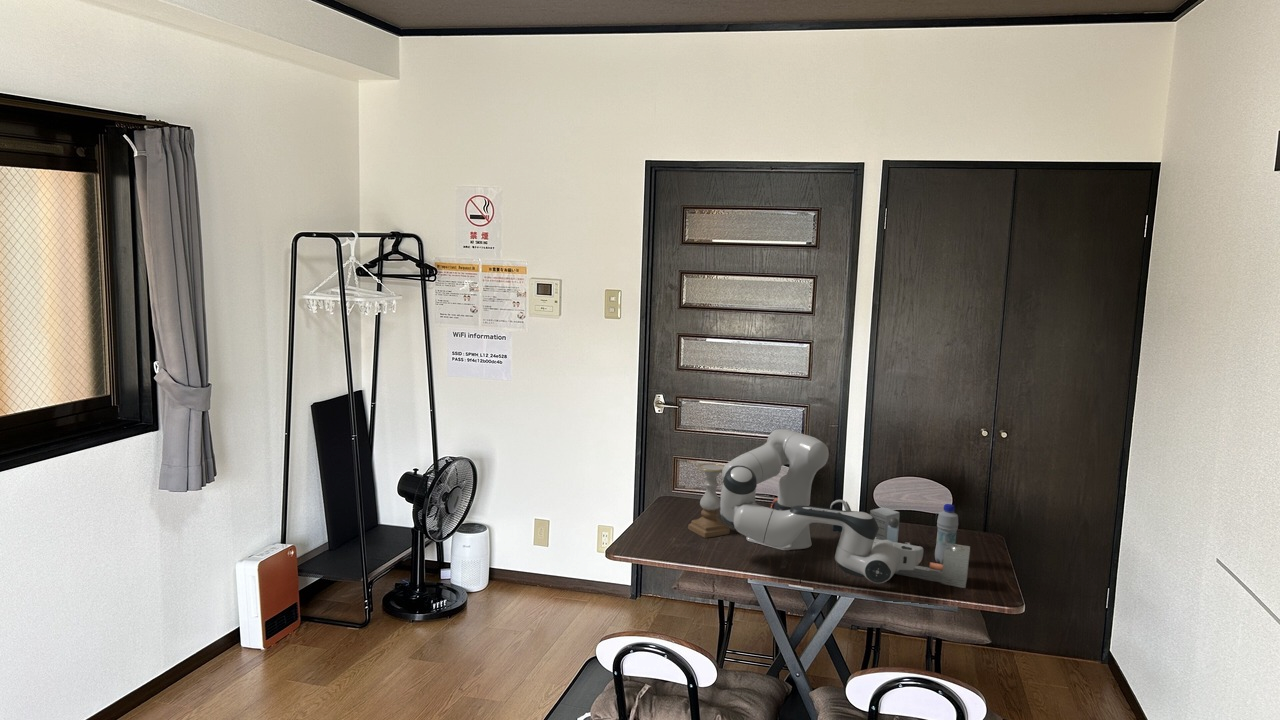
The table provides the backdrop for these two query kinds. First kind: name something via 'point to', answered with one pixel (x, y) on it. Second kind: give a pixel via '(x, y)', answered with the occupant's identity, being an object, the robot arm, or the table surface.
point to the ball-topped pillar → (893, 531)
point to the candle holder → (709, 505)
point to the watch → (847, 508)
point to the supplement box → (883, 520)
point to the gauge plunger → (936, 566)
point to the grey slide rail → (946, 567)
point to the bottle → (945, 530)
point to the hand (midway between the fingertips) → (892, 542)
